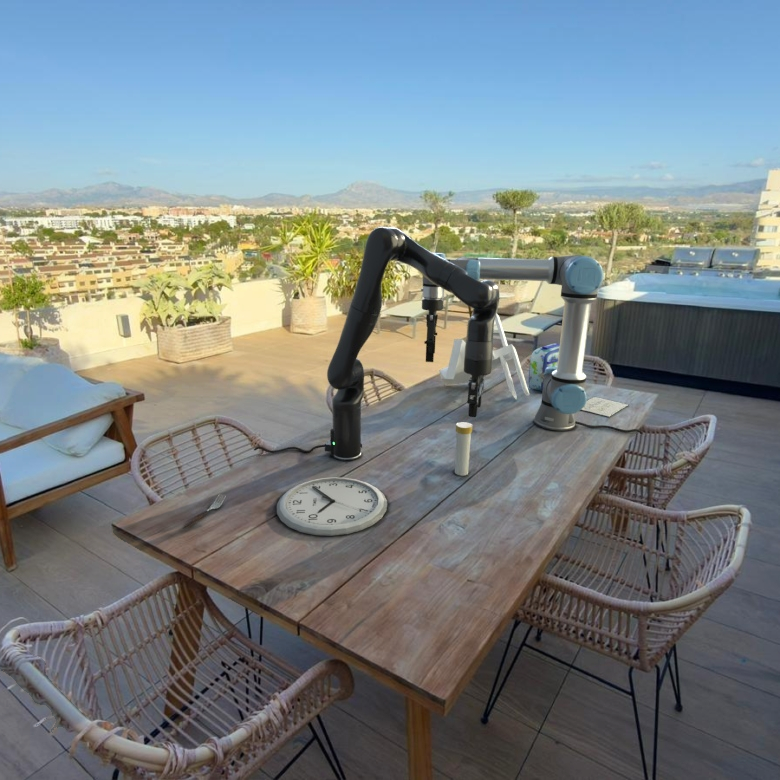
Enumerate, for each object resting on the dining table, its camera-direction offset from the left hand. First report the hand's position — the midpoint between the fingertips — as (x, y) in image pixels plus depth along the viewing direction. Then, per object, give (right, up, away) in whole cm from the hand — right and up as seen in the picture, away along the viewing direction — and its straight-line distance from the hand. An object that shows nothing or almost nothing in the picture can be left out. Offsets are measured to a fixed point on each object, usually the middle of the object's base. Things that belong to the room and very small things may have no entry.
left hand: (474, 411), depth 147 cm
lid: (-1, -5, +12) cm, 13 cm away
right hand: (-9, +18, +43) cm, 47 cm away
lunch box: (+53, +7, +105) cm, 118 cm away
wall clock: (-40, -25, -4) cm, 47 cm away
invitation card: (+68, -1, +79) cm, 104 cm away
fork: (-72, -27, -10) cm, 78 cm away
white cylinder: (-1, -20, +16) cm, 26 cm away
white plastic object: (+18, +5, +96) cm, 98 cm away
